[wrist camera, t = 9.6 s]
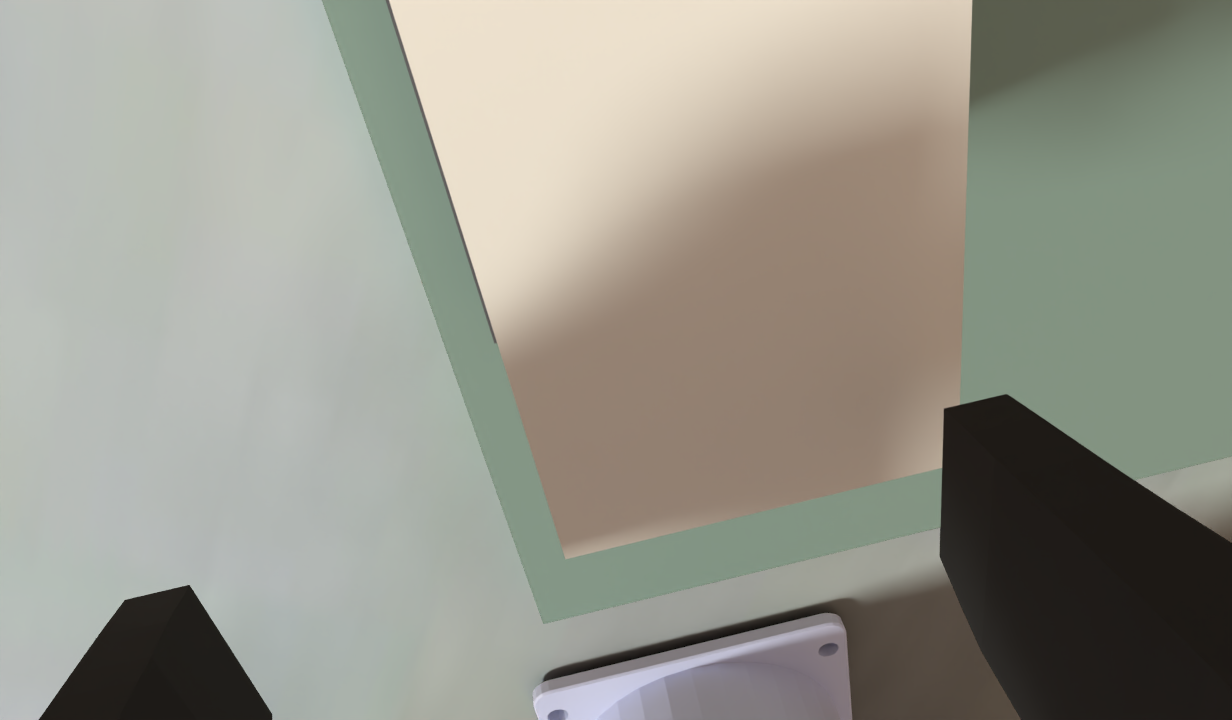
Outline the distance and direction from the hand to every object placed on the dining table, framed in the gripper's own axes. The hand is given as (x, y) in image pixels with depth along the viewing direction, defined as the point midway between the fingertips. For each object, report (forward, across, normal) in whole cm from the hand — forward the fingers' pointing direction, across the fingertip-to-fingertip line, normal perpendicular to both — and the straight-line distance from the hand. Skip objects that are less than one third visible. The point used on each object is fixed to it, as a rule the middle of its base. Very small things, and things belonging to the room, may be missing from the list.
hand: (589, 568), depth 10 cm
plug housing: (+7, -2, -3) cm, 8 cm away
